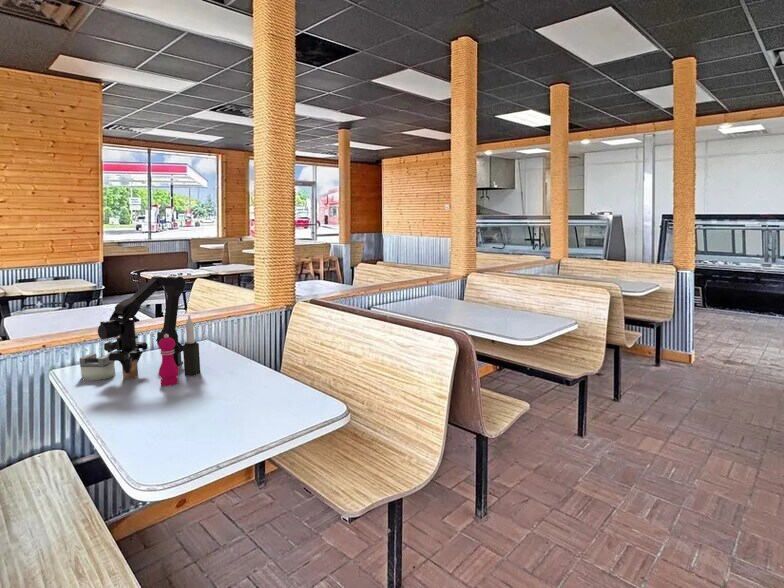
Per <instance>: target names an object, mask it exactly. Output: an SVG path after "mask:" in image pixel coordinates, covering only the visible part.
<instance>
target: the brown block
mask: <svg viewBox="0 0 784 588" xmlns="http://www.w3.org/2000/svg"><path fill="white" fill-rule="evenodd" d="M121 366H122V365H121ZM138 366H139V365H138V363H137V360H132V362H131V367H130V371H129V373H126V372H125V370H124V368H123V366H122V367H121V368H122V378H123V380H134V379H136V378H137V377H139V370H138V369H139V367H138Z"/></svg>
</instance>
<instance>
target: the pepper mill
mask: <svg viewBox="0 0 784 588" xmlns="http://www.w3.org/2000/svg"><path fill="white" fill-rule="evenodd" d="M157 346H158V348H159V350H160V351H159V352H160V355H161V364H160V367H159V369H158V376H159V378H161V379H160V385H161V386H163V385H165V387H166V386H169V385H170V386H174V385H176V384H178V383H179V378H178V375H179V374H180V373H179V372H180V371H179V366H177V365H176V363H175V361H174V357H173V353H174V349H173V348H174V347H175V341H174V340H173V339H172V338H169V335H168V334H165V335H164V338H163V339H161V340H160V341H159V344H158V345H157Z"/></svg>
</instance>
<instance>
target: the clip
mask: <svg viewBox="0 0 784 588" xmlns="http://www.w3.org/2000/svg"><path fill="white" fill-rule="evenodd" d="M109 354H110V353H108V354H106V355H103V356H101V357H97V353H96V352H94V353H93V352H92V353H89V354H86V355H85V356H82V357H80V358H79V366H80V368H81V367H105V366H107V365H109V364H111V363H113V362H116V361H109V358H108V355H109ZM95 362H98V363H95Z"/></svg>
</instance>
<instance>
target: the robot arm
mask: <svg viewBox="0 0 784 588" xmlns="http://www.w3.org/2000/svg"><path fill="white" fill-rule="evenodd" d="M162 286H163V287H164V290H165V293H166V304H165V311H164V318H163V327H162V330H161V331H157V333H156V340H155V342H156V344H157V346H158V344H159V341H160V340H161V339H163V338H164V335H165V334H168V335H169V338H172V339H173V340H174V341H175V347H174V348H173V349H174V353H173V357H174V361H175V363H176V365H177V367H179V366H180V365H182V364H184V360H182V353H183V345H184V344H181V343H180V342H179V335H178V332H177V330H176V328H177V319H178V312H179V303H180V302H179V301H180V297H181V296H182V294H183V293H184V291H185V287H186V279H185V278H184V277H183V276H179V275H168V276H165V277H164V276H161V275H154V276H152V277H151V278H150V279H149V280H148V281H147V282H146V283H145V284H144V285H143V286H141V288H139V289H138V290H137V291H136V292H135V293H134V294H133V295H132V296H130V297H129V298H125V299H123V300H122V301H120V302H119V303H117V304H116V305H115V306H114V311H113V312H112V314H111V315H110V318H109V319H108V320H105V321H104V320H103V321H100V322H99V323H100V324H99V326H98V329H97V335H98V337H99V338H100V339H101V340H107V339H112V338H116V337H117V338H116V341H113V342H112V341H108V342H105V343H103V350H104V351H106V352H107V353H108V354H109V355H108V358H109V361H115V362H116V361H118V362H119V363H120V365H121V366H123V368H124V370H125V372H126V373H129V371H130V367H131V362H132V360H137V364H138V363H139V361H140V358H141V356H142V355H143V353H144V351H146V350H148V348H149V347H148V344H147V342H145V341H137V340H136V339H138V338H139V337H138V334H136V326H135V325H136V324H135V323H137V322H140V319H139V318H137V317H136V315H137V314H138V312H140V309H141V306H142V305H143V304H144V303H145V301H147V299H149V298H150V297H151V296H152V295H154V293H155V292H156V291H158V289H160V288H161V287H162ZM141 349H142V350H143V351H141Z"/></svg>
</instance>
